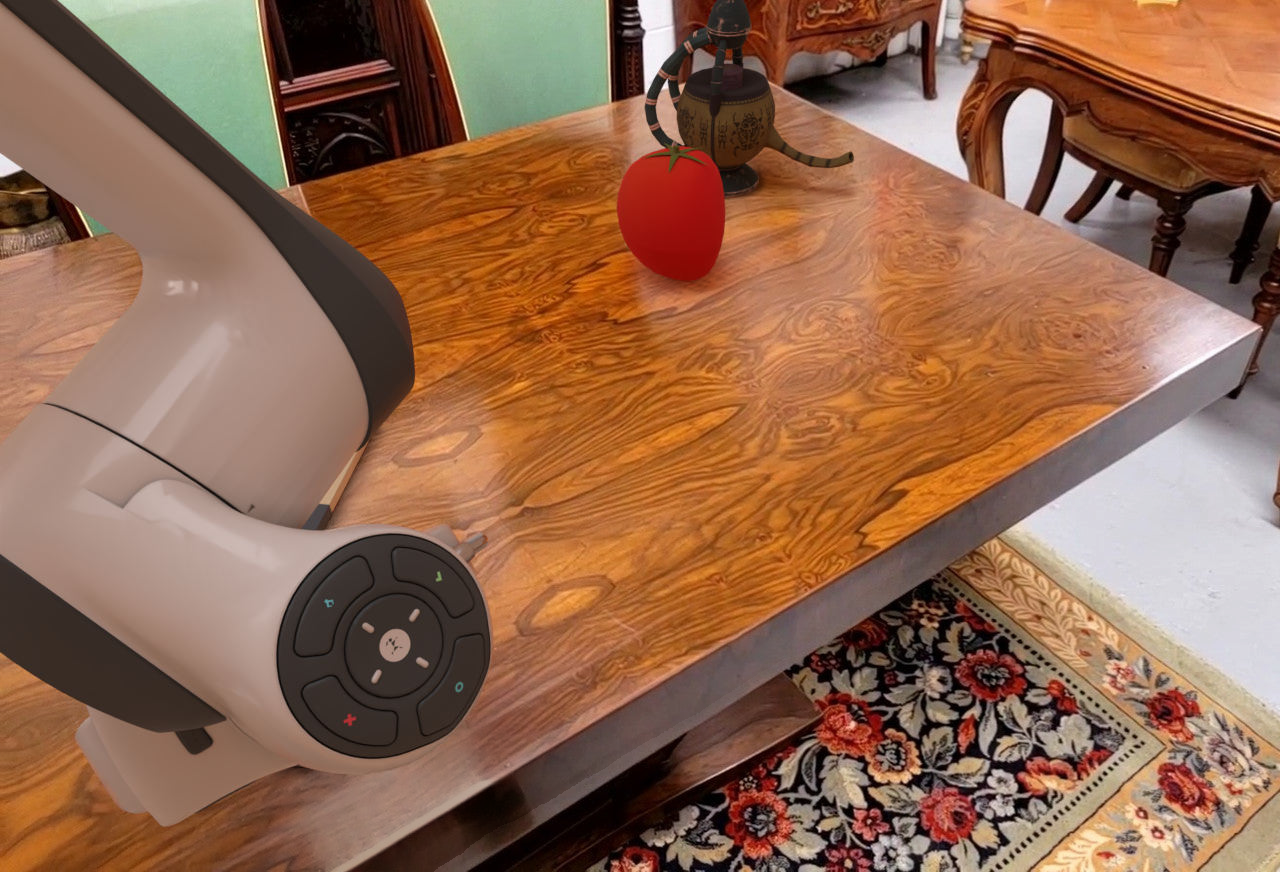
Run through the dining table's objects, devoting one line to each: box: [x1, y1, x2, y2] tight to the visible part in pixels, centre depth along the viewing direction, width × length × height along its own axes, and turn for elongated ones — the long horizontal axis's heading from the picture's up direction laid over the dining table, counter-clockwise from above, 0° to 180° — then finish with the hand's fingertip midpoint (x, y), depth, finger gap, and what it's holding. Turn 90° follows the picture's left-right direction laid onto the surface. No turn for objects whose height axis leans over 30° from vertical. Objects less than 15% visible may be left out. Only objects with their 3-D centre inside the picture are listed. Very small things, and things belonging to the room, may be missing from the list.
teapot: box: [644, 0, 855, 198], centre depth 111 cm, size 12×25×23 cm, turn 71°
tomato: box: [616, 143, 726, 282], centre depth 99 cm, size 13×11×14 cm
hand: (275, 650), depth 55 cm, fingers open, 8 cm apart
